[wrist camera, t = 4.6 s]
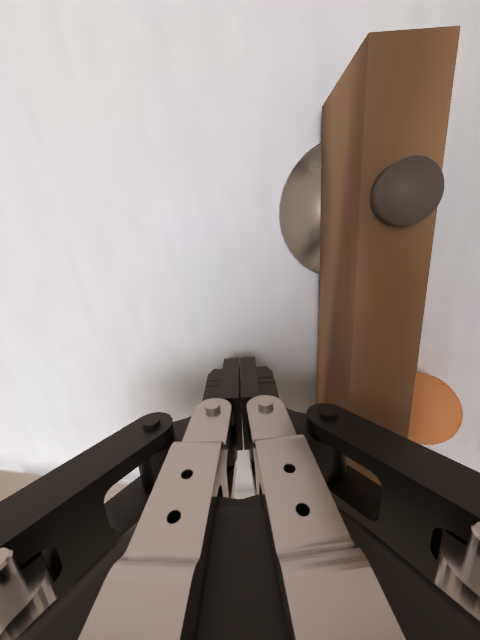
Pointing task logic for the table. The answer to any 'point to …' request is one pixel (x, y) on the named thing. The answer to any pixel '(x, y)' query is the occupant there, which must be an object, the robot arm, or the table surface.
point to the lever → (381, 219)
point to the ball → (433, 411)
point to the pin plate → (303, 209)
